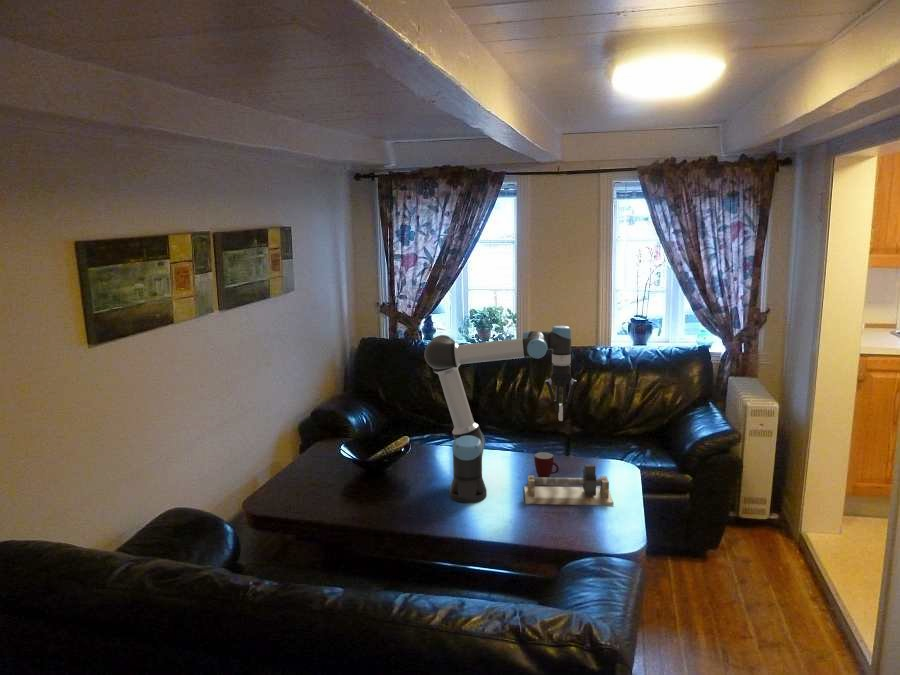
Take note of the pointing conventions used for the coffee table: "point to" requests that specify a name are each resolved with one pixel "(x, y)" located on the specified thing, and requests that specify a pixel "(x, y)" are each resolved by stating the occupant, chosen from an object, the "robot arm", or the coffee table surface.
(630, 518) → the coffee table surface
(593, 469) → the collar
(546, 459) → the mug
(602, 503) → the pipe rig
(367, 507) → the coffee table surface
